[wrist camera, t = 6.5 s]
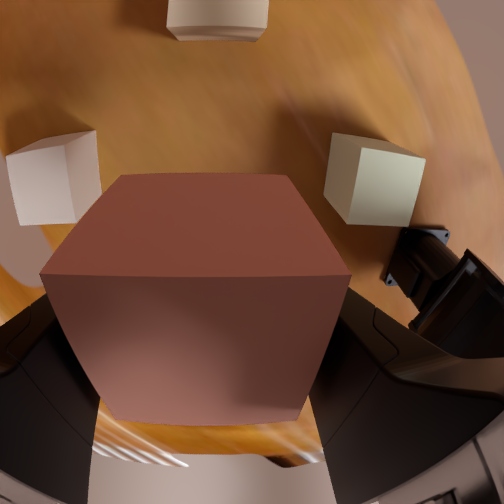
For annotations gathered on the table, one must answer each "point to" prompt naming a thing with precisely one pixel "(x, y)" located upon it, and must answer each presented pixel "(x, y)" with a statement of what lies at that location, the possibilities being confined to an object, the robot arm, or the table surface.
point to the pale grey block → (55, 178)
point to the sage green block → (372, 180)
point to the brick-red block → (199, 297)
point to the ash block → (217, 19)
